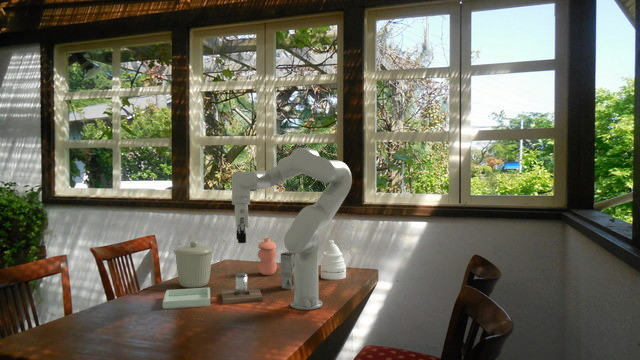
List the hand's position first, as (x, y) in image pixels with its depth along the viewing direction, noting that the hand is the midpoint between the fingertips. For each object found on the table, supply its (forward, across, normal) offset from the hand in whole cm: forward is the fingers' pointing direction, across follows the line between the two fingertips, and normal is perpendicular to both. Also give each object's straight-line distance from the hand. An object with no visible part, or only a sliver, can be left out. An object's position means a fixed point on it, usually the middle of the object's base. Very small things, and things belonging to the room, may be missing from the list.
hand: (241, 241), depth 193 cm
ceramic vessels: (+24, +32, -24) cm, 47 cm away
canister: (+24, +27, +20) cm, 41 cm away
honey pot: (+24, +28, -48) cm, 61 cm away
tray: (+24, 0, +22) cm, 33 cm away
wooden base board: (+24, 0, 0) cm, 24 cm away
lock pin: (+24, 0, 0) cm, 24 cm away
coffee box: (+24, +12, -24) cm, 37 cm away
